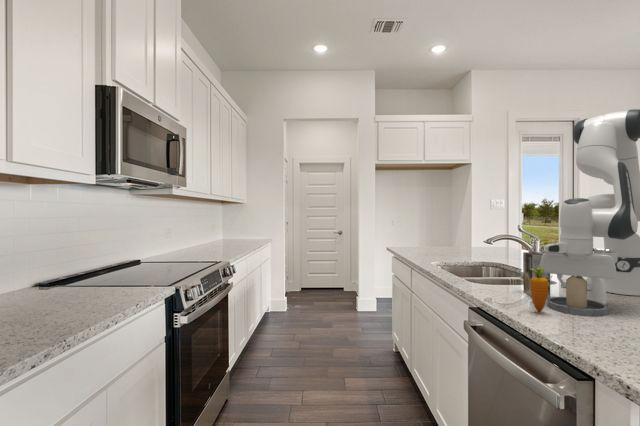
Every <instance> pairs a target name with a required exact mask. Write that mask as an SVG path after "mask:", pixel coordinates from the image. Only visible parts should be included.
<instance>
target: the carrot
mask: <svg viewBox="0 0 640 426" xmlns="http://www.w3.org/2000/svg"><path fill="white" fill-rule="evenodd" d="M537 267H538V268H537V271H535V270H534V269H530V270H531V271H533V272H534V273H535V275H536V277H532V278H531V280H530V287H531V296H530V297H531V300H532V303H533V306H534V308H535V310H536V312H537V313H542V311H543V310H544V307H545V305H546V304H547V299H548V298H547V294H548V280H547V279H546V278H544V277H542V274H543V271H544V268H542V269H541V266H540V265H538V266H537Z"/></svg>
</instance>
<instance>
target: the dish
mask: <svg viewBox="0 0 640 426" xmlns="http://www.w3.org/2000/svg"><path fill="white" fill-rule="evenodd" d="M546 307H547V308H549V309H551V310H553V311H556V312H558V313H559V312H560V313H564V314H569V315H574V316H580V317H581V316H582V317H594V318H595V317H605V316H608V314H609V310H608V309H609V308H608V307H609V306H608V305H607V304H603V303H600V302H596V301H592V300H587V308H573V307H569V306H567V305H566V296H552V297H551V296H550V298H547V299H546Z"/></svg>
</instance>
